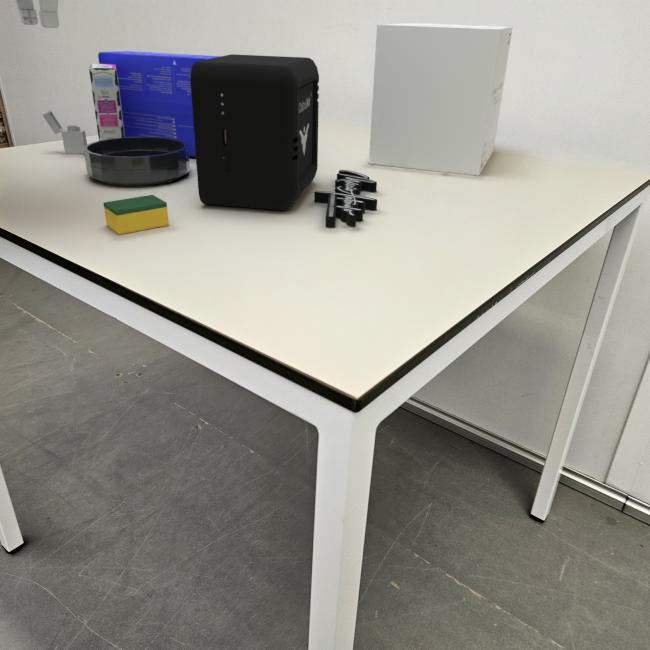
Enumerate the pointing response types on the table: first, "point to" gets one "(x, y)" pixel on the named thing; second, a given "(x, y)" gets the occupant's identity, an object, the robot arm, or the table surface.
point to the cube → (437, 95)
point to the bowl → (137, 160)
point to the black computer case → (255, 129)
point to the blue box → (155, 93)
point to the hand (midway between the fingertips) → (39, 26)
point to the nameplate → (348, 198)
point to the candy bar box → (107, 101)
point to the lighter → (68, 135)
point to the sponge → (136, 214)
